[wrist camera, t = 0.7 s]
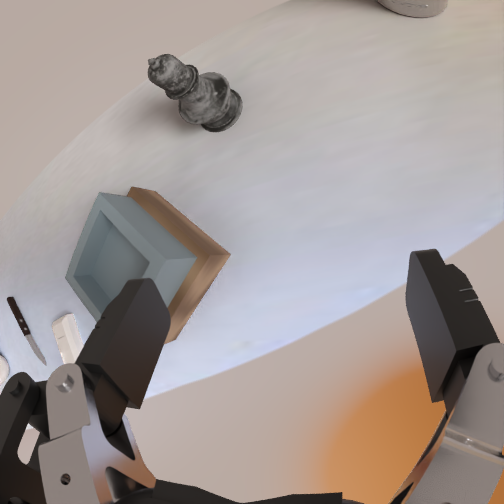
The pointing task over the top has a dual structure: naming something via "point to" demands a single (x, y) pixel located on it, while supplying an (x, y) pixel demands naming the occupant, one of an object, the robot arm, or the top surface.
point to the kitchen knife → (25, 328)
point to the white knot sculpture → (3, 370)
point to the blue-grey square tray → (124, 254)
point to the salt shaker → (197, 93)
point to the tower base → (195, 241)
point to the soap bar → (67, 338)
